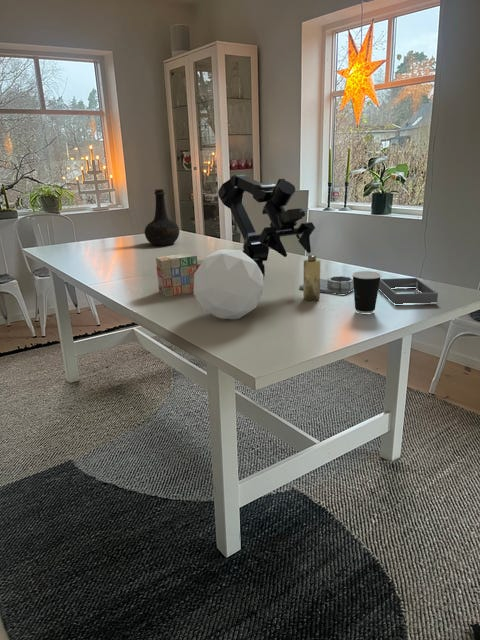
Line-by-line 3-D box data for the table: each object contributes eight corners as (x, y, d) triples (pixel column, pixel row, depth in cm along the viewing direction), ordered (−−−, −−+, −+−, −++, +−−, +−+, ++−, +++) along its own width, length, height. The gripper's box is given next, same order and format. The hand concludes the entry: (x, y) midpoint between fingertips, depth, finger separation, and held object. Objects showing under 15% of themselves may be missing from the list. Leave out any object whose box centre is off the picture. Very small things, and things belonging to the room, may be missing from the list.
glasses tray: (394, 305, 140) (395, 294, 139) (378, 289, 158) (378, 279, 156) (436, 304, 140) (438, 293, 139) (415, 288, 157) (416, 277, 156)
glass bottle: (141, 247, 247) (135, 191, 237) (152, 241, 263) (147, 188, 254) (174, 247, 244) (170, 190, 234) (184, 241, 260) (180, 187, 251)
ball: (215, 343, 136) (167, 292, 129) (238, 300, 150) (196, 252, 143) (265, 321, 124) (216, 263, 117) (285, 277, 138) (242, 223, 131)
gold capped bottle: (304, 301, 148) (304, 258, 143) (302, 297, 152) (302, 254, 148) (320, 301, 148) (321, 257, 143) (318, 296, 152) (319, 254, 148)
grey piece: (299, 289, 161) (299, 278, 160) (315, 281, 170) (315, 271, 169) (344, 295, 152) (344, 284, 151) (359, 286, 162) (359, 276, 160)
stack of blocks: (216, 283, 172) (214, 249, 168) (223, 287, 167) (222, 252, 163) (158, 292, 164) (155, 256, 160) (164, 296, 158) (161, 259, 154)
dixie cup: (344, 312, 136) (346, 274, 133) (360, 306, 141) (362, 269, 138) (369, 318, 131) (371, 279, 127) (384, 311, 136) (387, 273, 132)
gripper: (262, 201, 146) (283, 242, 141) (311, 196, 155) (333, 235, 149) (250, 224, 155) (269, 264, 150) (297, 219, 164) (317, 256, 158)
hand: (298, 254), depth 152 cm, fingers open, 9 cm apart
